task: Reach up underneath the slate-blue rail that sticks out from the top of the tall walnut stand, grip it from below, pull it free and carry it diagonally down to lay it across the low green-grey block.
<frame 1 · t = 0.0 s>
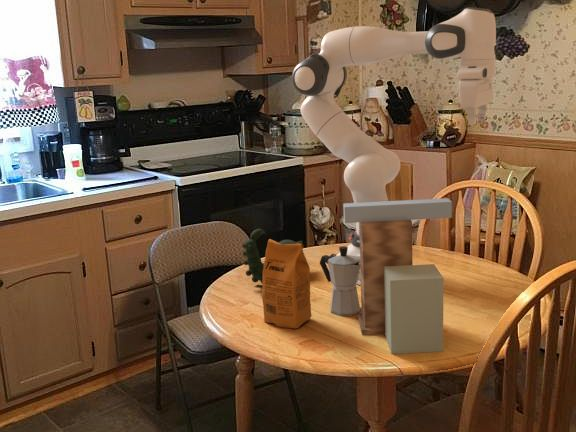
hand: (477, 122, 177), 48 cm above the table, tool pointing down, fingers open, 8 cm apart
walnut stand: (386, 324, 168), on the table
coffee package: (287, 321, 174), on the table
coffee maker: (342, 309, 180), on the table
toy figurine: (277, 279, 207), on the table
rail: (397, 218, 162), point 28 cm above the table, touching walnut stand
step block: (413, 343, 157), on the table
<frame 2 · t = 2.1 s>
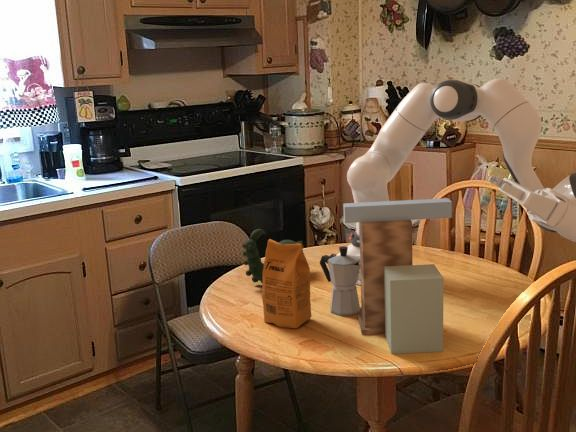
hand: (496, 181, 156), 37 cm above the table, tool pointing upward, fingers open, 8 cm apart
nothing on the table moved.
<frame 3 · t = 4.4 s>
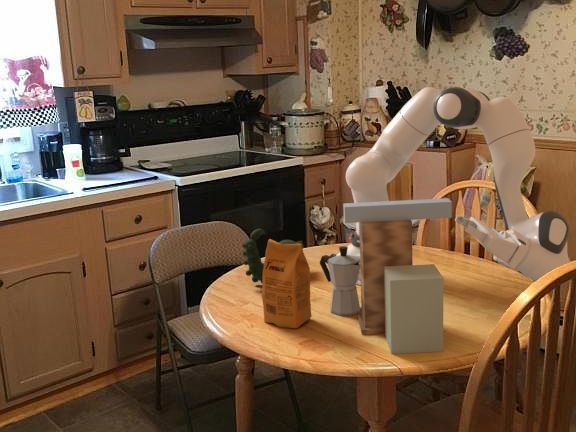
hand: (461, 222, 162), 26 cm above the table, tool pointing upward, fingers open, 8 cm apart
nothing on the table moved.
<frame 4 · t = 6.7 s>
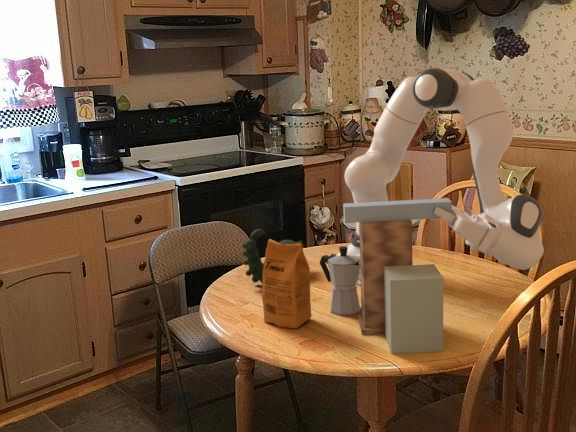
hand: (432, 206, 161), 30 cm above the table, tool pointing upward, fingers closed on rail, 4 cm apart
rail: (397, 218, 162), point 28 cm above the table, touching gripper, walnut stand
everything else where it was.
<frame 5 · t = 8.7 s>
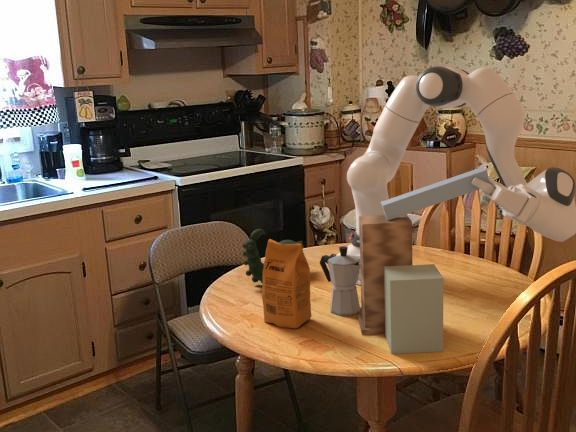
hand: (469, 177, 159), 37 cm above the table, tool pointing upward, fingers closed on rail, 4 cm apart
rail: (437, 201, 160), point 32 cm above the table, tilted 17°, touching gripper
everything else where it was.
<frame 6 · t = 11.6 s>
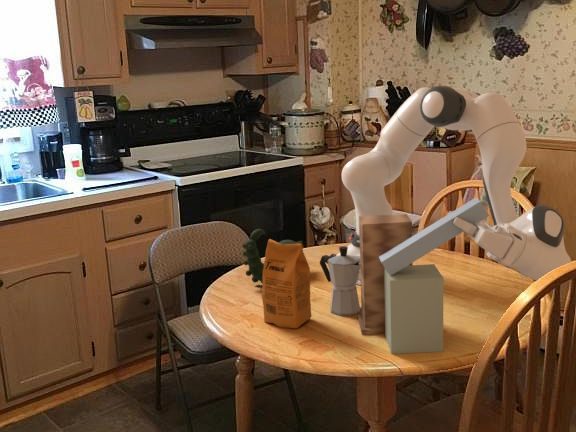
hand: (451, 217, 149), 31 cm above the table, tool pointing upward, fingers closed on rail, 4 cm apart
rail: (437, 243, 151), point 25 cm above the table, tilted 30°, touching gripper, step block
everything else where it was.
when the fingers open (23 cm above the table, at t = 13.4 s): rail stays where it is, resting on step block.
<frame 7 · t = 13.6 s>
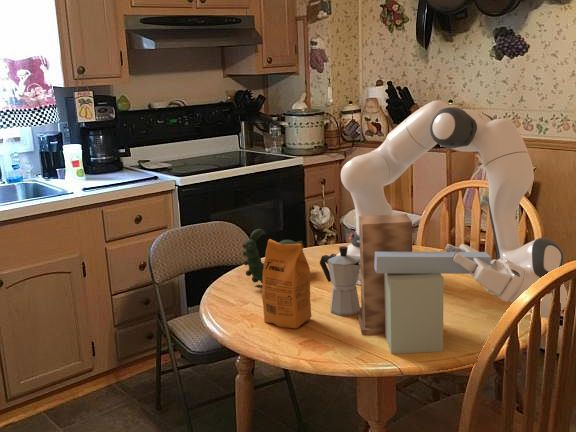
hand: (450, 251, 151), 22 cm above the table, tool pointing upward, fingers open, 6 cm apart
rail: (431, 270, 152), point 18 cm above the table, touching step block
everything else where it was.
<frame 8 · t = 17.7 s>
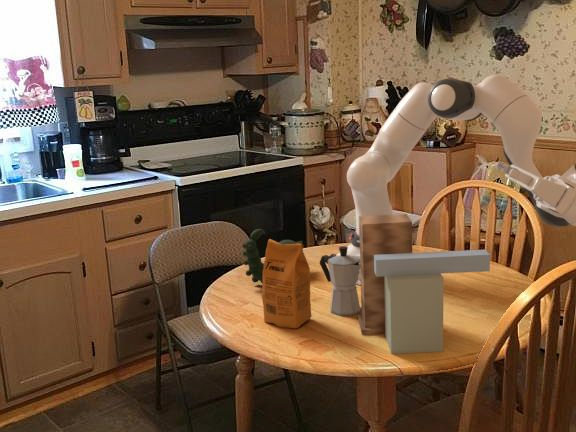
hand: (503, 167, 153), 40 cm above the table, tool pointing upward, fingers open, 8 cm apart
nothing on the table moved.
at the end: rail inside the target area on the step block (4.3 cm from its centre), point 18.0 cm above the step block's base; rail touching step block; the gripper is holding nothing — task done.
